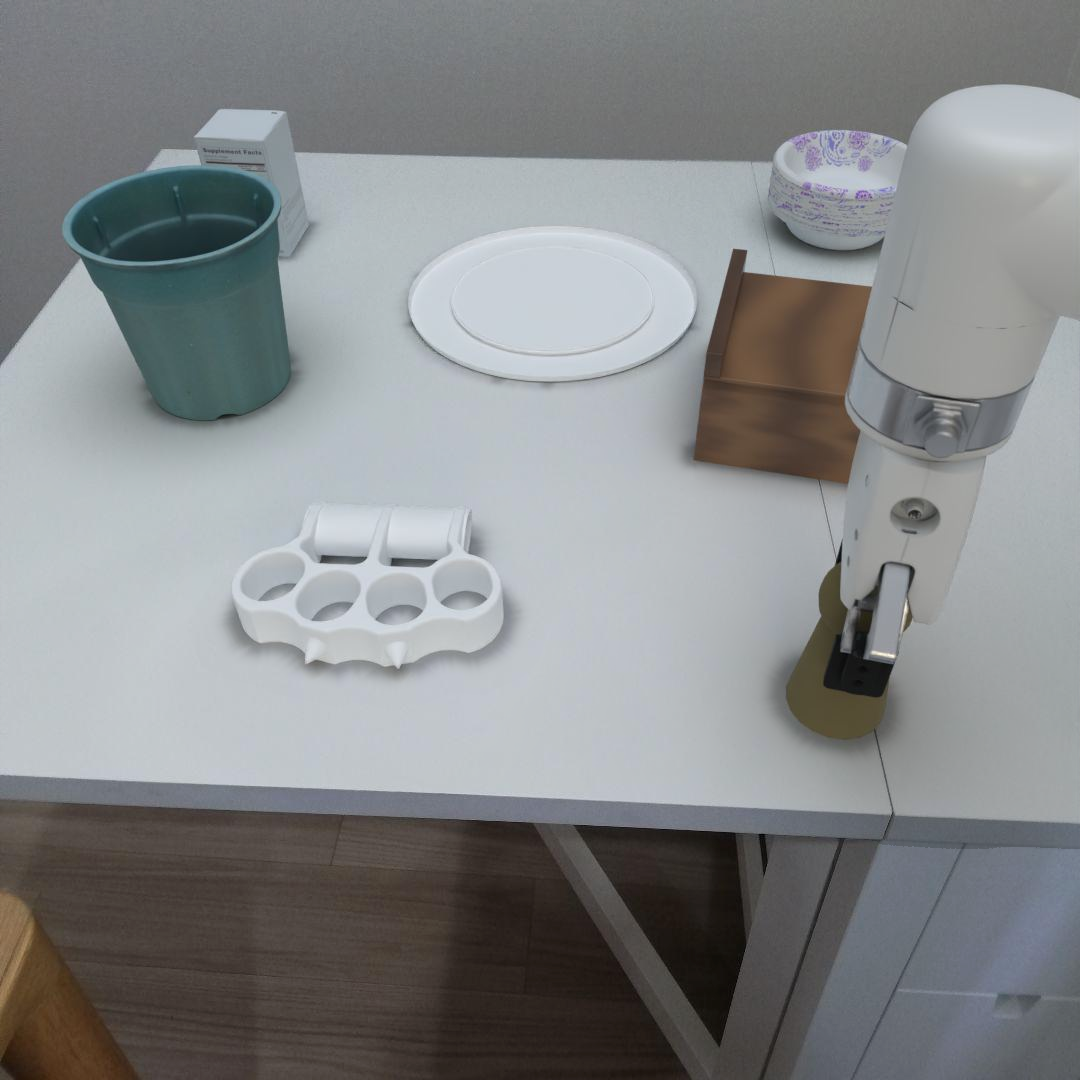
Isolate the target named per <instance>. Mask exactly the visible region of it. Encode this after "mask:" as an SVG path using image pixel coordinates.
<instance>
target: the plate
mask: <svg viewBox="0 0 1080 1080" xmlns="http://www.w3.org/2000/svg"><path fill="white" fill-rule="evenodd" d="M415 277H416V278H415V279H414V281H413V282H412V283H411V286H410V289H409V292H408V297H407V308H408V314H409V317H410V320H411V322H412V323H413V326H414V328H415V330H416V332H417V333H418V334H419V336H420V337H421V338H422V339H423V341H424V342H425V343H426V344H427V345H428V346H429V347H431V348H432V349H433V350H435V352H437V353H438V354H440V355H441V356H443V357H444V358H447V359H448V360H450V361H451V362H454V363H456V364H458V365H461V366H463V367H464V368H467V369H470V370H473V371H476V372H480V373H482V374H486V375H490V376H495V377H499V378H503V379H505V378H506V379H511V380H515V381H517V380H518V381H526V382H545V383H548V382H549V383H550V382H551V383H553V382H556V383H557V382H573V381H583V380H589V379H595V378H600V377H601V378H602V377H606V376H610V375H613V374H617V373H621V372H624V371H628V370H630V369H634V368H636V367H638V366H640V365H643V364H645V363H647V362H649V361H652V360H653V359H655V358H656V357H658V356H660V355H662V354H663V353H665V352H667V351H668V350H670V349H671V347H673V346H675V344H676V343H677V342H678V341H680V339H681V338H682V337H683V336H684V335H685V333H686V332H687V330H688V329H689V327H690V325H691V324H692V321H693V319H694V316H695V314H696V311H697V307H698V293H697V289H696V285H695V283H694V280H693V279H692V277H691V275H690V274H689V273H688V271H687V269H685V267H683V265H682V264H681V263H679V261H677V260H676V259H675V258H673V257H672V256H671V255H669V254H668V253H667V252H665V251H663V250H661V249H660V248H659V247H656V246H654V245H652V244H650V243H648V242H645V241H643V240H641V239H637V238H636V237H633V236H628V235H626V234H624V233H623V234H622V233H619V232H614V231H610V230H605V229H601V228H600V229H599V228H592V227H587V226H586V227H583V226H573V225H571V226H570V225H542V226H541V225H540V226H538V225H537V226H527V227H526V226H525V227H519V228H511V229H506V230H501V231H496V232H493V233H488V234H485V235H481V236H478V237H475V238H472V239H470V240H467V241H465V242H462V243H460V244H457V245H456V246H454V247H452V248H450V249H448V250H446V251H444V252H442V253H441V254H440V255H438V256H437V257H435V258H434V259H433V260H431V261H430V262H429V263H428V264H426V265H425V266H424V267H423V268H422V269H421V270H420V272H419V273H418V274H417V276H415Z"/></svg>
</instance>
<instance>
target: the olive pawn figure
mask: <svg viewBox="0 0 1080 1080" xmlns="http://www.w3.org/2000/svg"><path fill="white" fill-rule="evenodd" d="M840 583H841V562H840V563H838V564H837V565H835V564H834V566H833V567H832V568H831V569H829V570H828V572H827V573H826V574H825V575H824V577H823V579H822V582H821V583H820V586H819V590H818V610H819V614H820V618H819V619H818V622H817V624H816V626H815V627H814V630H813V631H812V633H811V635H810V637H809V639H808V641H807V643H806V645H805V647H804V649H803V651H802V653H801V655H800V657H799V659H798V661H797V663H796V665H795V666H794V669H793V671H792V673H791V675H790V676H789V679H788V682H787V683H786V685H785V699H786V702H787V705H788V707H789V710H790V712H791V713H792V714H793V715H794V717H795V718H796V719H797V721H798V722H799V723H800V724H801V725H803V726H805V727H806V728H808V729H809V730H810V731H812V732H813V733H816V734H819V735H820V736H823V737H826V738H828V739H829V738H830V739H836V740H843V741H844V740H854V739H859V738H862V737H865V736H867V735H869V734H870V733H872V732H873V731H874V730H875V729H876V728H877V727H878V726H879V725H881V722H882V720H883V717H884V713H885V710H886V704H887V698H888V691H889V685H890V678H891V676H890V677H889V680H888V682H887V685H886V688H885V690H884V693H883V695H882V696H881V697H878V698H875V697H869V696H864V695H855V694H850V693H847V692H843V691H838V690H833V689H828V688H826V687H825V686H824V685H823V678H824V673H825V670H826V666H827V663H828V660H829V657H830V653H831V650H832V647H833V643H834V640H835V637H836V634H839V635H840V634H843V629H844V625H845V620H846V616H847V611H848V608H847V607H846V606H845V605H844V604H843V602H842V601H841V599H840ZM876 592H877V585H875V588H874V589H873V590H872V591H871V592H870V593H869V594H874V595H876ZM872 616H873V612H868V611H863V610H861V614H860V618H859V623H858V627H857V631H861V632H867V633H869V632H870V628H871V622H872ZM912 621H913V616H912V612H911V608H910V605H909V610H908V614H907V618H906V622H905V626H904V631H903V633H905V632H906V630H907V629H908V628H909V627H911V623H912Z"/></svg>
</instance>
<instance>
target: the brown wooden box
mask: <svg viewBox="0 0 1080 1080" xmlns="http://www.w3.org/2000/svg"><path fill="white" fill-rule="evenodd" d="M747 257H748V249H741V248H732V252H731V256H730V260H729V263H728V267H727V271H726V275H725V279H724V282H723V286H722V290H721V294H720V298H719V302H718V307H717V310H716V313H715V318H714V322H713V326H712V329H711V333H710V337H709V340H708V344H707V348H706V353H705V361H704V369H703V376H702V377H703V378H702V385H701V393H700V394H701V395H700V401H699V402H700V403H699V409H698V410H699V411H698V418H697V426H696V435H695V443H694V452H693V461H695V462H701V463H702V462H703V463H708V464H716V465H722V466H729V467H735V468H741V469H749V470H755V471H761V472H768V473H773V474H780V475H787V476H794V477H801V478H806V479H807V478H808V479H812V480H813V479H814V480H821V481H825V482H826V481H828V482H833V483H840V484H846V485H848V483H849V477H850V473H851V468H852V463H853V459H854V455H855V450H856V446H857V442H858V439H859V435H860V431H861V430H860V429H859V428H858V427H857V426H856V425H855V424H854V423H853V421H852V420H851V418H850V416H849V415H848V413H847V410H846V406H845V395H846V391H847V387H848V382H849V378H850V374H851V370H852V366H853V362H854V358H855V354H856V350H857V346H858V342H859V338H860V334H861V330H862V326H863V322H864V318H865V314H866V310H867V306H868V302H869V298H870V293H871V289H872V285H863V284H854V283H844V282H835V281H827V280H820V279H819V280H818V279H809V278H800V277H793V276H792V277H791V276H783V275H774V274H767V273H766V274H765V273H757V272H748V271H746V264H747Z"/></svg>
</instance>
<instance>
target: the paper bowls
mask: <svg viewBox="0 0 1080 1080" xmlns="http://www.w3.org/2000/svg"><path fill="white" fill-rule="evenodd" d="M907 146H908V144H906V143H904V142H902V141H900V140H898V139H894V138H892V137H889V136H886V135H882V134H878V133H873V132H867V131H861V130H848V129H827V130H818V131H817V130H815V131H810V132H807V133H802V134H799V135H796V136H794V137H791V138H789V139H788V140H786V141H785V142H783V143H782V144H781V145H780V146H779V147H778V148H777V150H776V151H775V153H774V154H773V158H772V167H771V174H770V177H769V187H768V193H767V202H768V206H769V209H770V211H771V212H772V213H773V214H774V215H775V217H777V218H778V219H780V220H781V221H782V222H784V223H785V224H786V227H787V228H788V230H789V231H790V233H791V234H793V236H795V237H796V238H797V239H799V240H800V241H801V242H803V243H806V244H808V245H810V246H813V247H816V248H821V249H826V250H831V251H832V250H833V251H855V250H861V249H864V248H868V247H871V246H873V245H875V244H877V243H878V242H880V241H882V239H884V237H885V233H886V229H887V225H888V221H889V217H890V213H891V208H892V204H893V200H894V196H895V192H896V188H897V184H898V180H899V176H900V172H901V168H902V164H903V160H904V156H905V152H906V149H907Z"/></svg>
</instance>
